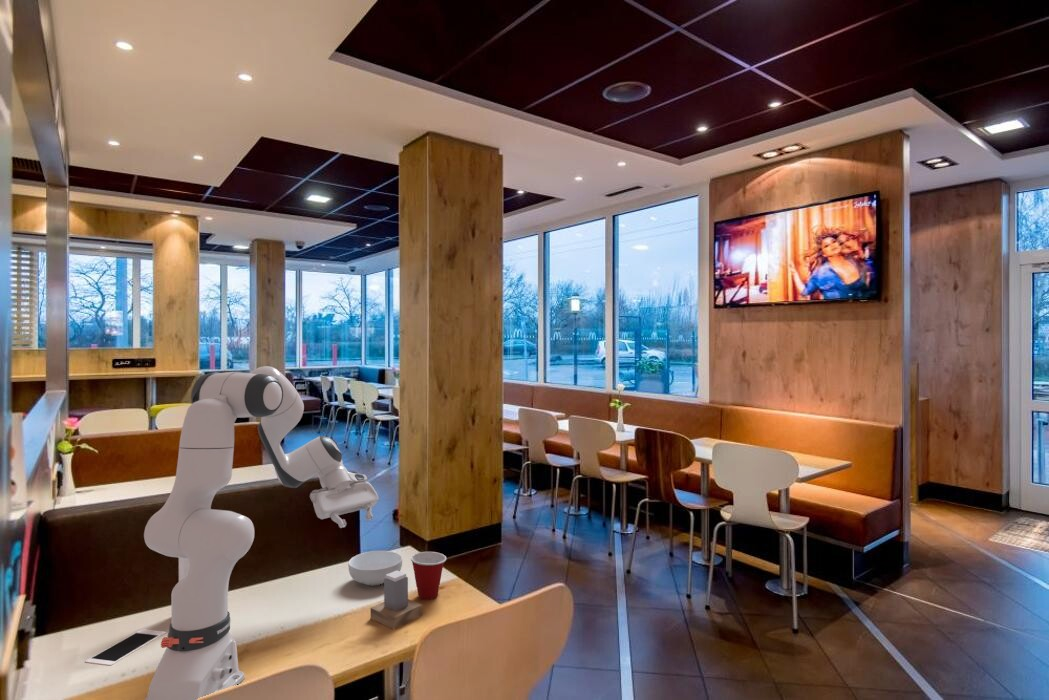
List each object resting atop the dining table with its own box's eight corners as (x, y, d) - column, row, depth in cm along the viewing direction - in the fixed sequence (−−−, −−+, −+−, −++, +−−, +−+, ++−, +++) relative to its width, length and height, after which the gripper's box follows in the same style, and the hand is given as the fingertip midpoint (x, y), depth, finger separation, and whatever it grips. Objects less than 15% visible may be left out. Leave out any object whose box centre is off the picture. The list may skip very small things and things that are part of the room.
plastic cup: (450, 599, 169) (450, 559, 169) (414, 606, 165) (414, 565, 165) (442, 585, 179) (441, 548, 179) (407, 591, 175) (407, 552, 175)
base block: (393, 629, 151) (393, 618, 151) (370, 618, 158) (370, 607, 158) (422, 615, 159) (422, 604, 159) (398, 605, 165) (398, 595, 165)
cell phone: (166, 633, 151) (166, 631, 151) (111, 667, 135) (111, 664, 135) (141, 631, 152) (141, 628, 152) (84, 663, 136) (84, 661, 136)
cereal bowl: (363, 597, 172) (363, 573, 172) (339, 580, 184) (339, 559, 184) (412, 581, 183) (412, 559, 183) (386, 566, 195) (386, 546, 195)
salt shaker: (394, 611, 155) (394, 578, 155) (384, 607, 158) (384, 574, 158) (408, 605, 159) (407, 573, 159) (397, 601, 162) (397, 569, 162)
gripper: (311, 485, 166) (330, 524, 160) (369, 473, 182) (389, 509, 176) (303, 498, 169) (321, 537, 162) (361, 485, 185) (380, 521, 179)
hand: (357, 522), depth 169 cm, fingers open, 8 cm apart
